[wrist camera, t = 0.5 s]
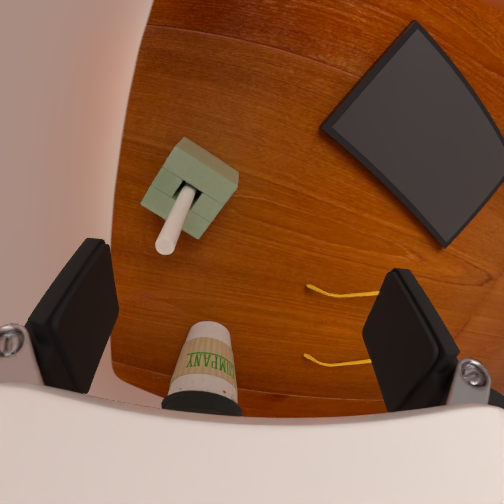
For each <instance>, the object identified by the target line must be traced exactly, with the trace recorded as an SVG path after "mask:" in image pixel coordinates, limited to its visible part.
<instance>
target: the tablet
mask: <svg viewBox="0 0 504 504" xmlns="http://www.w3.org/2000/svg"><path fill="white" fill-rule="evenodd" d="M319 127H320V128H321V129H322V130H324V131H325V132H326V133H327V134H328V135H330V136H331V137H332V138H333V139H334V140H335V141H337V142H338V143H339V144H340V145H341V146H342V147H344V148H345V149H346V150H347V151H348V152H349V153H350V154H352V155H353V156H354V157H355V158H356V159H357V160H358V161H359V162H360V163H362V164H363V165H364V166H365V167H366V168H367V169H368V170H369V171H370V172H371V173H372V174H373V175H374V176H376V177H377V178H378V179H379V180H380V181H381V182H382V183H383V184H384V185H385V186H386V187H387V188H388V189H389V190H390V191H391V192H392V193H393V194H394V195H395V196H396V197H397V198H398V199H399V200H400V201H401V202H402V203H403V204H404V205H405V206H406V207H407V208H408V209H409V210H410V211H411V212H412V213H413V214H414V215H415V217H416V218H417V219H418V220H419V221H420V222H421V223H422V224H423V225H424V226H425V227H426V228H427V229H428V231H429V232H430V233H431V234H432V235H433V236H434V237H435V238H436V240H437V241H438V242H439V243H440V244H441V245H442V246H443V248H444V249H445V248H446V247H447V246H448V245H449V244H450V243H451V242H452V241H453V240H454V239H455V238H456V237H457V236H458V235H459V233H460V232H461V231H462V230H463V229H464V228H465V227H466V226H467V225H468V223H469V222H470V221H471V220H472V219H473V218H474V217H475V215H476V214H477V213H478V212H479V211H480V210H481V208H482V207H483V206H484V205H485V204H486V203H487V201H488V200H489V199H490V198H491V197H492V195H493V194H494V193H495V192H496V190H497V189H498V188H499V187H500V185H501V184H502V183H503V182H504V138H503V136H502V134H501V133H500V131H499V129H498V127H497V126H496V124H495V122H494V121H493V119H492V117H491V116H490V114H489V113H488V111H487V109H486V108H485V106H484V105H483V103H482V102H481V100H480V99H479V97H478V96H477V94H476V93H475V91H474V90H473V89H472V87H471V86H470V84H469V83H468V82H467V80H466V79H465V77H464V76H463V75H462V73H461V72H460V71H459V69H458V68H457V67H456V66H455V64H454V63H453V62H452V61H451V59H450V58H449V57H448V56H447V54H446V53H445V52H444V51H443V50H442V48H441V47H440V46H439V45H438V44H437V43H436V41H435V40H434V39H433V38H432V37H431V36H430V35H429V33H428V32H427V31H426V30H425V29H424V28H423V27H422V26H421V25H420V24H419V23H418V22H417V21H416V20H413V21H411V22H410V24H409V25H408V26H407V27H406V28H405V29H404V30H403V31H402V32H401V33H400V35H399V36H398V37H397V38H396V39H395V40H394V41H393V42H392V43H391V45H390V46H389V47H388V48H387V49H386V50H385V51H384V52H383V54H382V55H381V56H380V57H379V58H378V59H377V60H376V61H375V63H374V64H373V65H372V66H371V67H370V68H369V69H368V71H367V72H366V73H365V74H364V75H363V76H362V77H361V79H360V80H359V81H358V82H357V83H356V84H355V85H354V87H353V88H352V89H351V90H350V91H349V92H348V93H347V95H346V96H345V97H344V98H343V99H342V100H341V102H340V103H339V104H338V105H337V106H336V107H335V109H334V110H333V111H332V112H331V113H330V114H329V116H328V117H327V118H326V119H325V120H324V121H323V123H322V124H321V125H320V126H319Z"/></svg>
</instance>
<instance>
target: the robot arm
mask: <svg viewBox="0 0 504 504" xmlns="http://www.w3.org/2000/svg"><path fill="white" fill-rule="evenodd" d="M118 313H119V306H118V300H117V294H116V288H115V282H114V275H113V268H112V261H111V253H110V246H109V245H108V244H105V242H104V240H103V239H94V238H87V239H85V241H84V242H83V243H82V245H81V246H80V247H79V248H78V250H77V251H76V252H75V254H74V255H73V256H72V258H71V259H70V260H69V261H68V263H67V264H66V265H65V267H64V268H63V269H62V271H61V272H60V273H59V275H58V276H57V278H56V279H55V280H54V282H53V283H52V284H51V286H50V287H49V289H48V290H47V291H46V293H45V295H44V296H43V297H42V299H41V300H40V302H39V303H38V305H37V306H36V308H35V309H34V311H33V312H32V314H31V315H30V317H29V318H28V321H27V323H26V324H25V326H22V325H19V324H12V323H11V324H6V325H3V326H1V327H0V504H504V396H503V395H501V394H500V393H498V392H497V391H495V390H493V389H492V388H490V386H491V377H490V374H489V372H488V370H487V369H486V367H485V366H484V365H483V364H482V363H481V362H479V361H478V360H476V359H473V358H470V357H465V358H462V359H460V360H459V361H458V360H457V358H456V357H457V355H458V354H459V353H460V351H459V349H458V347H457V345H456V344H455V342H454V340H453V338H452V337H451V335H450V333H449V331H448V330H447V328H446V326H445V325H444V323H443V321H442V320H441V318H440V316H439V315H438V313H437V311H436V310H435V308H434V307H433V305H432V303H431V302H430V300H429V299H428V297H427V295H426V294H425V292H424V291H423V289H422V288H421V286H420V285H419V283H418V282H417V280H416V279H415V277H414V276H413V274H412V273H411V271H410V270H408V269H400V268H394V269H392V270H391V272H388V273H387V275H386V277H385V279H384V282H383V284H382V286H381V289H380V291H379V294H378V296H377V298H376V301H375V303H374V305H373V307H372V310H371V312H370V314H369V316H368V319H367V321H366V323H365V325H364V327H363V332H362V335H363V339H364V342H365V345H366V348H367V351H368V354H369V356H370V359H371V362H372V365H373V368H374V371H375V374H376V377H377V380H378V383H379V386H380V389H381V393H382V396H383V399H384V402H385V405H386V408H387V411H388V412H390V413H381V414H371V415H359V416H344V417H322V418H260V417H239V416H224V415H212V414H201V413H191V412H183V411H175V410H167V409H160V408H153V407H147V406H141V405H135V404H129V403H125V402H119V401H114V400H108V399H104V398H99V397H94V396H90V395H85V394H87V393H88V391H89V389H90V386H91V383H92V380H93V378H94V375H95V372H96V370H97V367H98V364H99V362H100V359H101V357H102V354H103V352H104V349H105V347H106V344H107V341H108V339H109V337H110V334H111V332H112V329H113V327H114V324H115V322H116V320H117V317H118ZM83 393H85V394H83Z"/></svg>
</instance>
